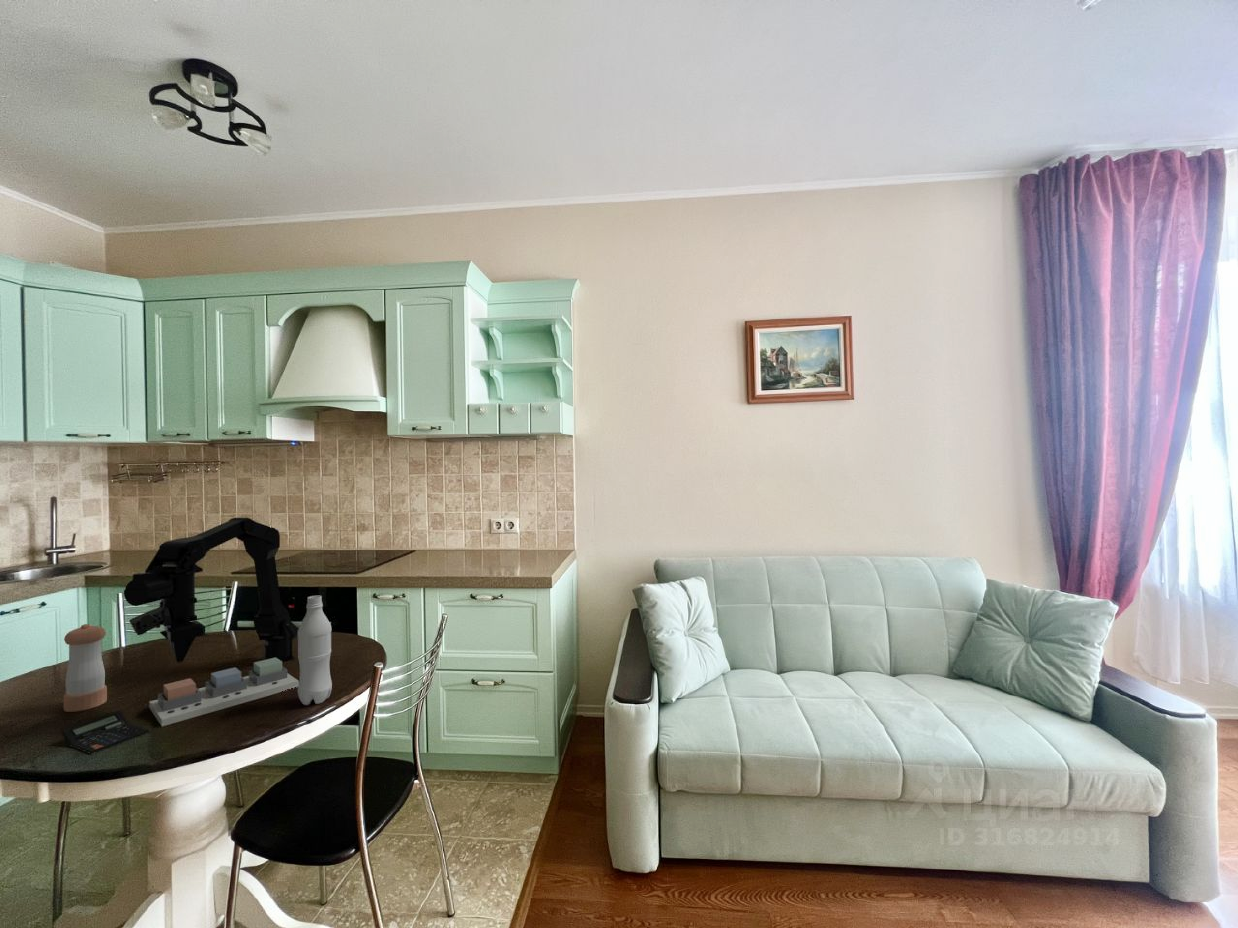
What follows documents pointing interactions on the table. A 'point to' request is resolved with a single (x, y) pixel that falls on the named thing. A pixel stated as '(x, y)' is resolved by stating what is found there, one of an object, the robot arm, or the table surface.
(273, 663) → the one dot button
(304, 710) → the table surface
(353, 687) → the table surface
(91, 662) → the pepper shaker
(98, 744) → the calculator
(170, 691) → the three dot button
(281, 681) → the button board
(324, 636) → the water bottle
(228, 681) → the two dot button
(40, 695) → the table surface
